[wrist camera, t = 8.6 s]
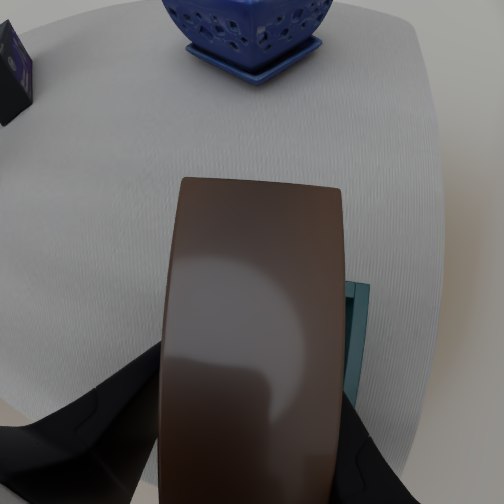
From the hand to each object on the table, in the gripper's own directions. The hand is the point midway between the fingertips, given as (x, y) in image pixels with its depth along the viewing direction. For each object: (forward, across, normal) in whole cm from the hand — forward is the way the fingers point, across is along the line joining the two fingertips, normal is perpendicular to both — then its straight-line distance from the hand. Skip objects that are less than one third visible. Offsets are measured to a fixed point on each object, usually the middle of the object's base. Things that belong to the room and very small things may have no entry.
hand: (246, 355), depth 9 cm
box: (+30, +44, -12) cm, 55 cm away
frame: (+4, 0, +6) cm, 7 cm away
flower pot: (+31, +5, -13) cm, 34 cm away
